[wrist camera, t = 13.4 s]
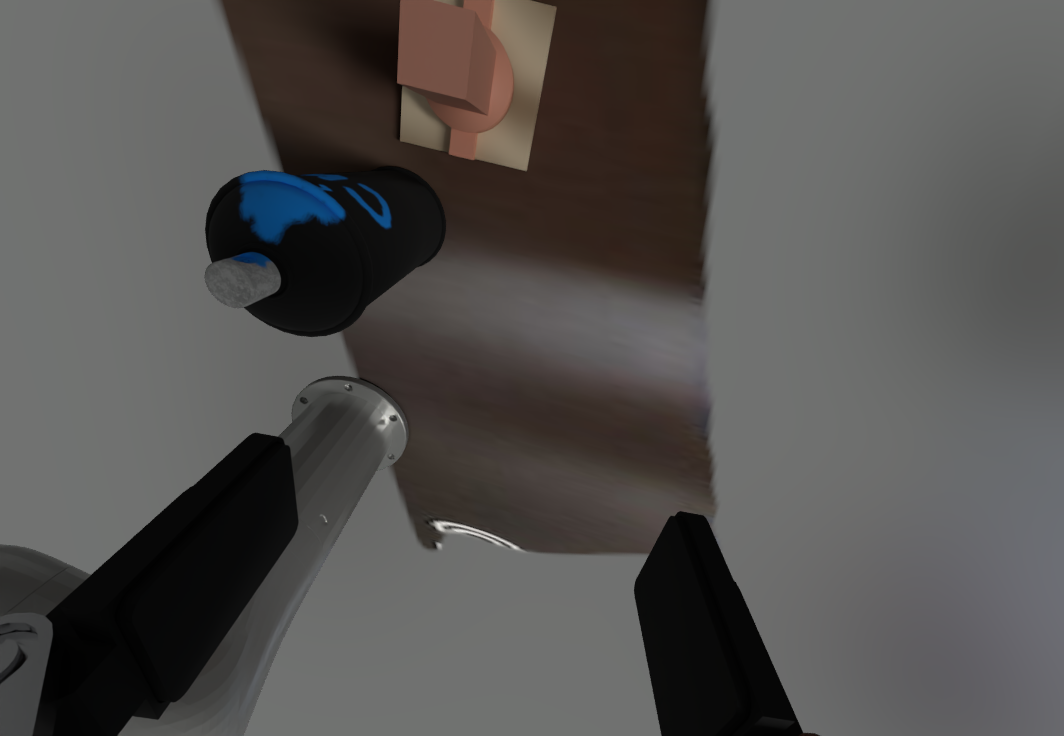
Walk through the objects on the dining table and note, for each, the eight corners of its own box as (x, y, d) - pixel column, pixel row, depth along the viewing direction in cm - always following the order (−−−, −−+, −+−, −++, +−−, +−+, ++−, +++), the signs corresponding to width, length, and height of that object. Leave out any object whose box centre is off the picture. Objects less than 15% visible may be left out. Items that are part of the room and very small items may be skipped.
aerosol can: (442, 276, 36) (335, 389, 18) (352, 258, 35) (151, 355, 18) (450, 177, 32) (323, 198, 14) (349, 156, 31) (88, 150, 14)
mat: (526, 170, 31) (526, 171, 31) (402, 141, 31) (399, 140, 30) (556, 10, 27) (556, 7, 26) (410, -29, 26) (407, -33, 25)
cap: (435, -15, 26) (374, -107, 17) (526, 9, 26) (513, -69, 17) (423, 147, 30) (371, 142, 21) (502, 166, 31) (481, 168, 22)
